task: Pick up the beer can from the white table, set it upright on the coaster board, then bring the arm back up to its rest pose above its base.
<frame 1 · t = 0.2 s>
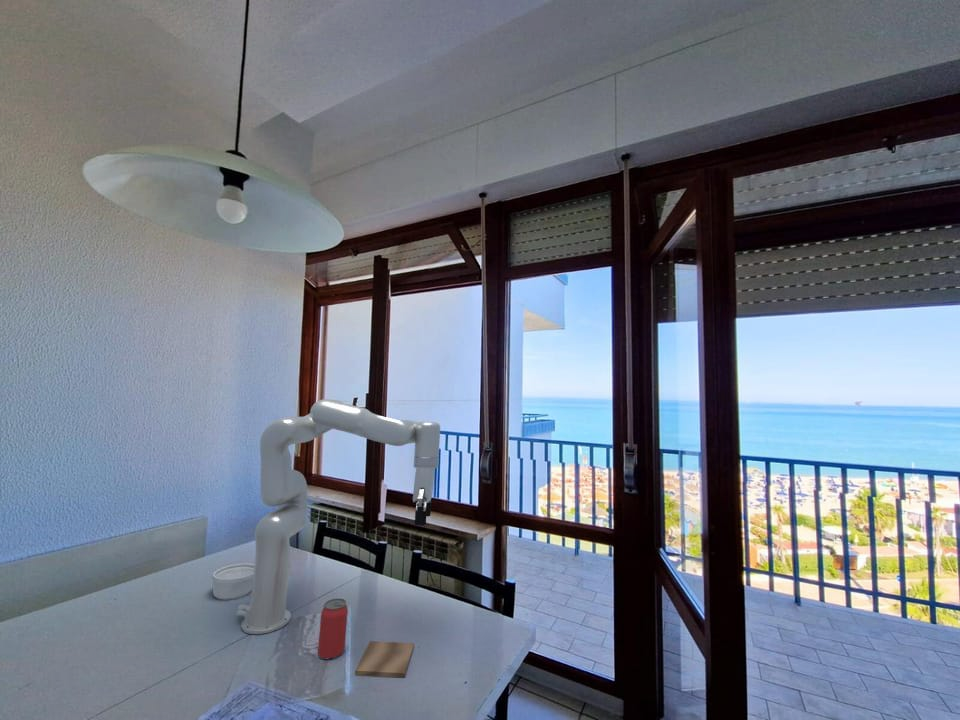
hand: (422, 520, 115), 31 cm above the table, tool pointing down, fingers open, 9 cm apart
ramekin: (233, 593, 129), on the table
beer can: (331, 653, 99), on the table
coaster board: (386, 660, 97), on the table
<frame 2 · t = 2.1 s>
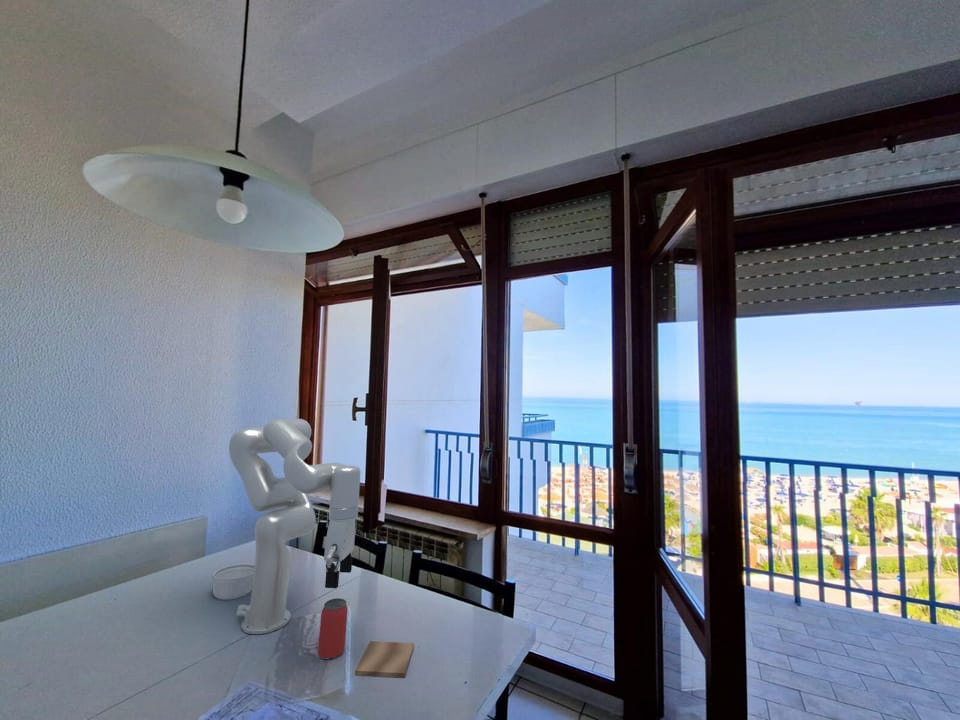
hand: (338, 579, 102), 18 cm above the table, tool pointing down, fingers open, 9 cm apart
nothing on the table moved.
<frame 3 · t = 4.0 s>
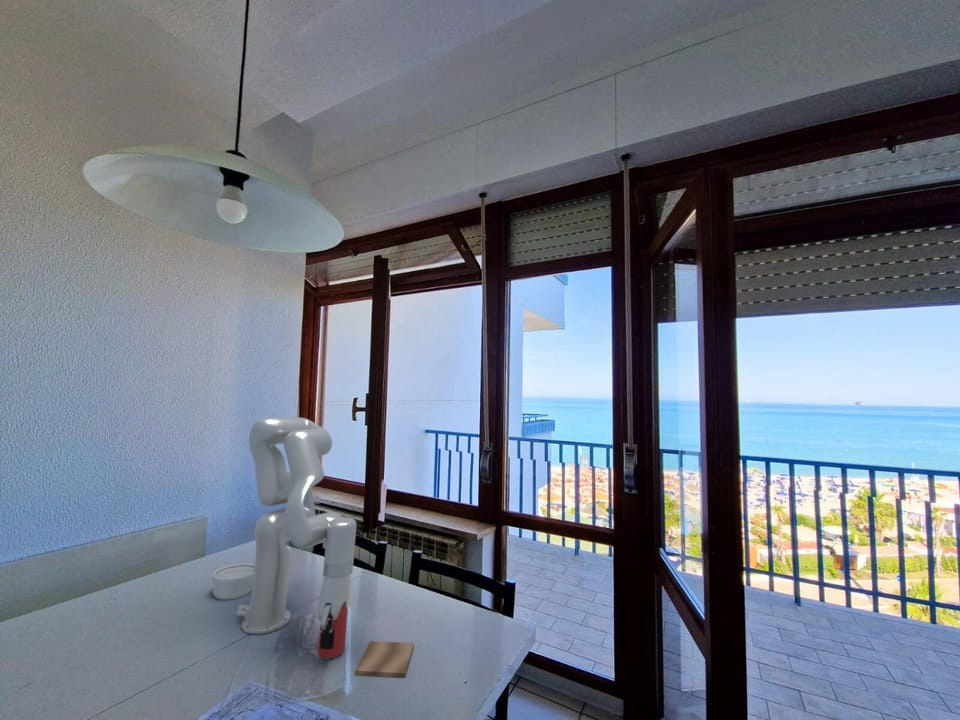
hand: (332, 639, 100), 3 cm above the table, tool pointing down, fingers closed on beer can, 6 cm apart
beer can: (330, 653, 99), on the table, touching gripper
everything else where it was.
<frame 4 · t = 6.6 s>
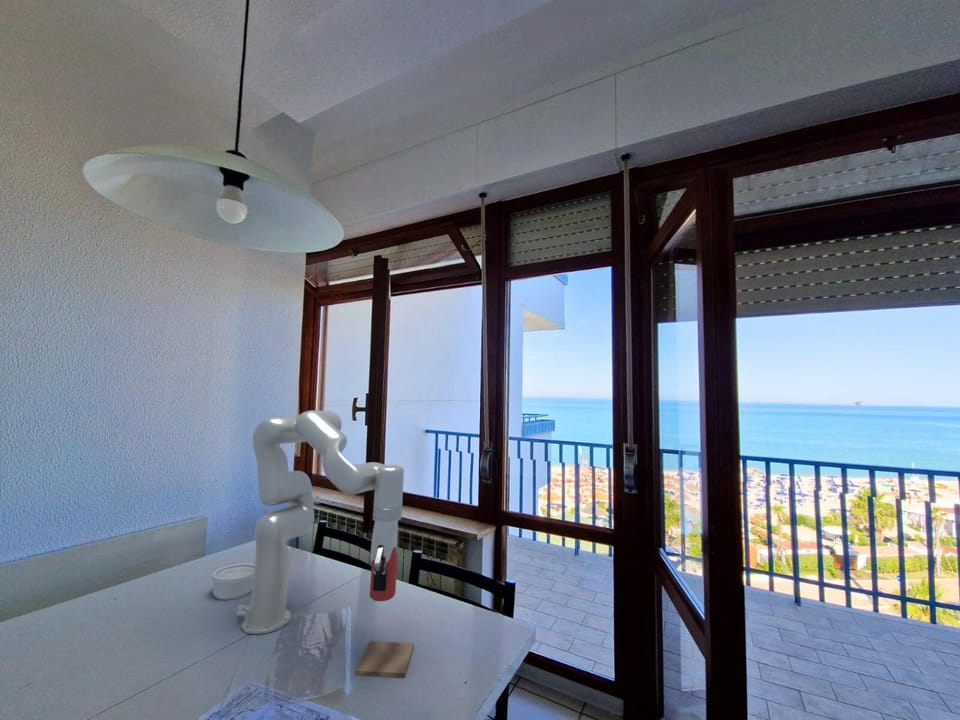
hand: (383, 583, 100), 18 cm above the table, tool pointing down, fingers closed on beer can, 6 cm apart
beer can: (382, 597, 99), point 15 cm above the table, touching gripper
everything else where it was.
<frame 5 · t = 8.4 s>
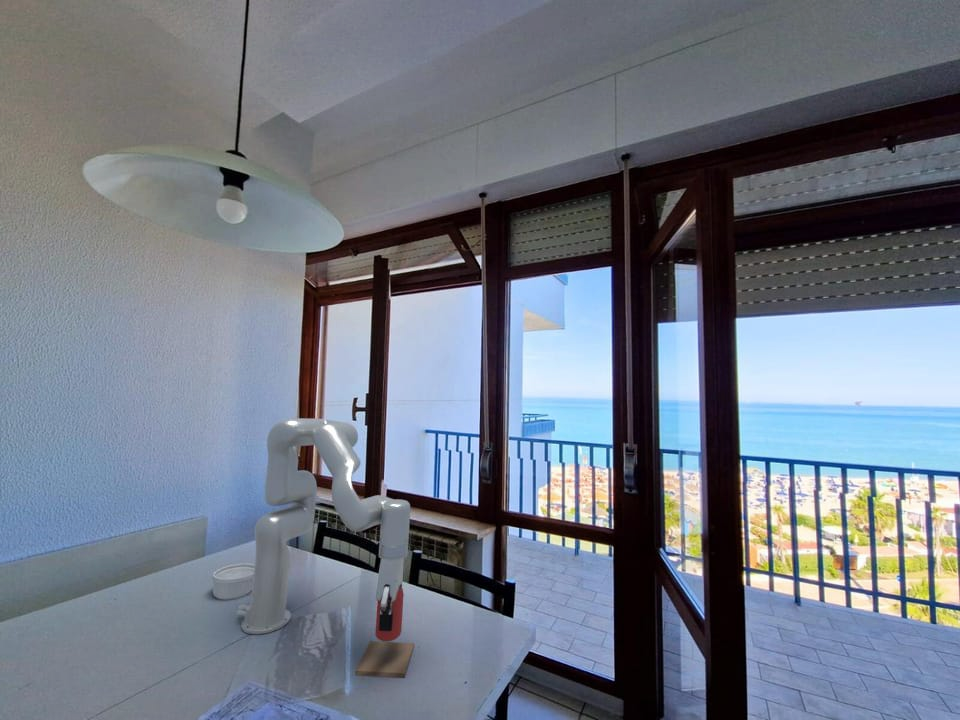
hand: (389, 621, 98), 9 cm above the table, tool pointing down, fingers closed on beer can, 6 cm apart
beer can: (388, 636, 98), point 6 cm above the table, touching gripper
everything else where it was.
when the fingers open (5 cm above the table, at t = 9.7 s): beer can stays where it is, resting on coaster board.
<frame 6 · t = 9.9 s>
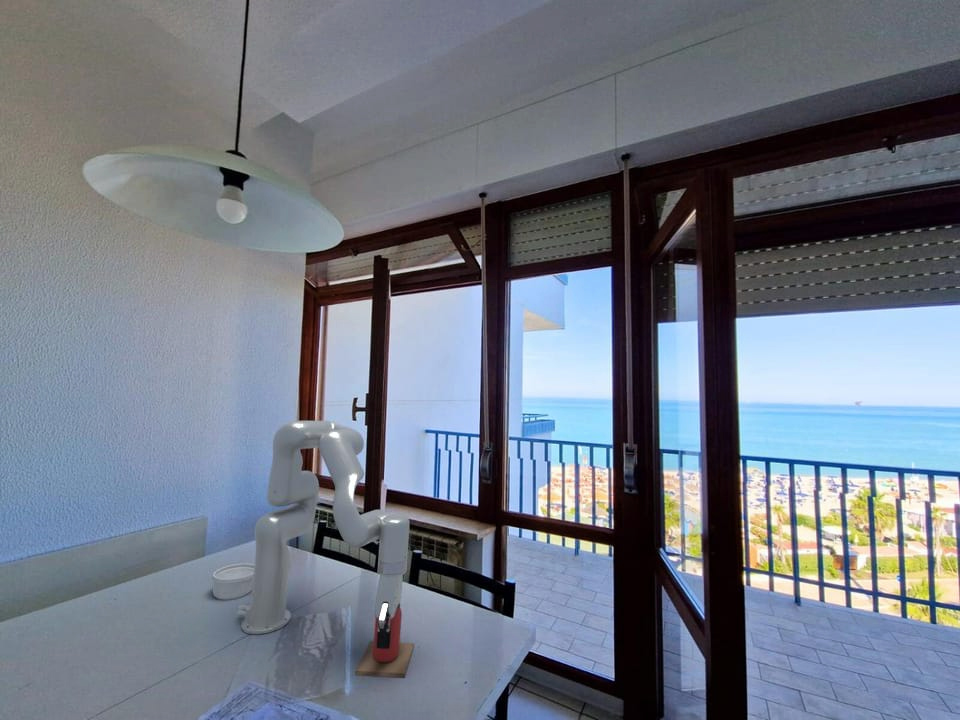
hand: (387, 637, 98), 5 cm above the table, tool pointing down, fingers open, 8 cm apart
beer can: (385, 656, 97), point 1 cm above the table, touching coaster board
everything else where it was.
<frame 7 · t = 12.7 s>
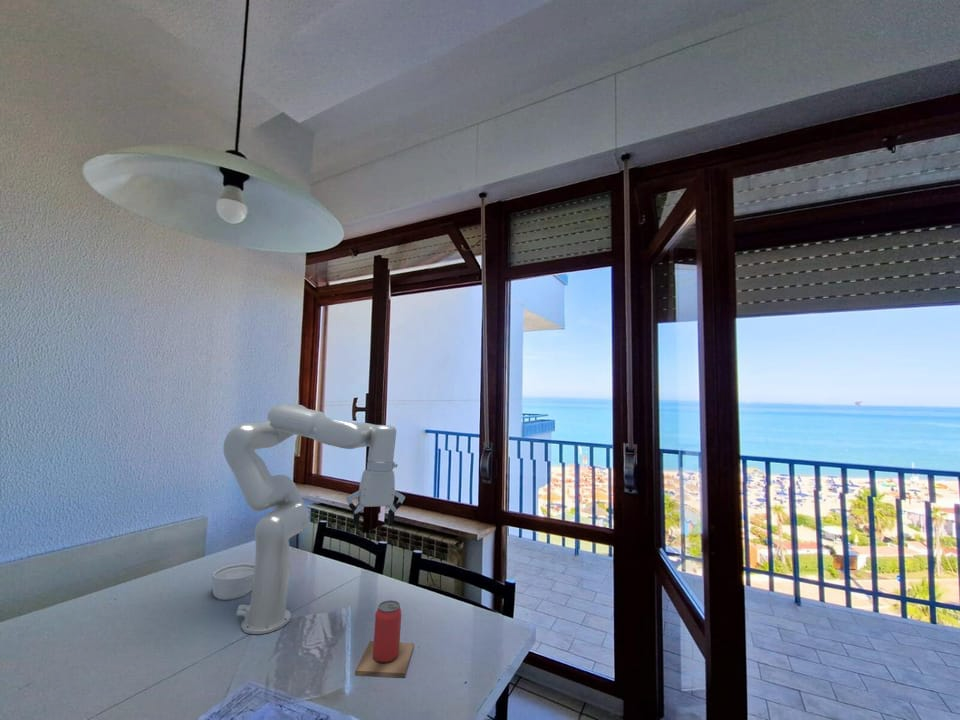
hand: (373, 525, 113), 29 cm above the table, tool pointing down, fingers open, 9 cm apart
nothing on the table moved.
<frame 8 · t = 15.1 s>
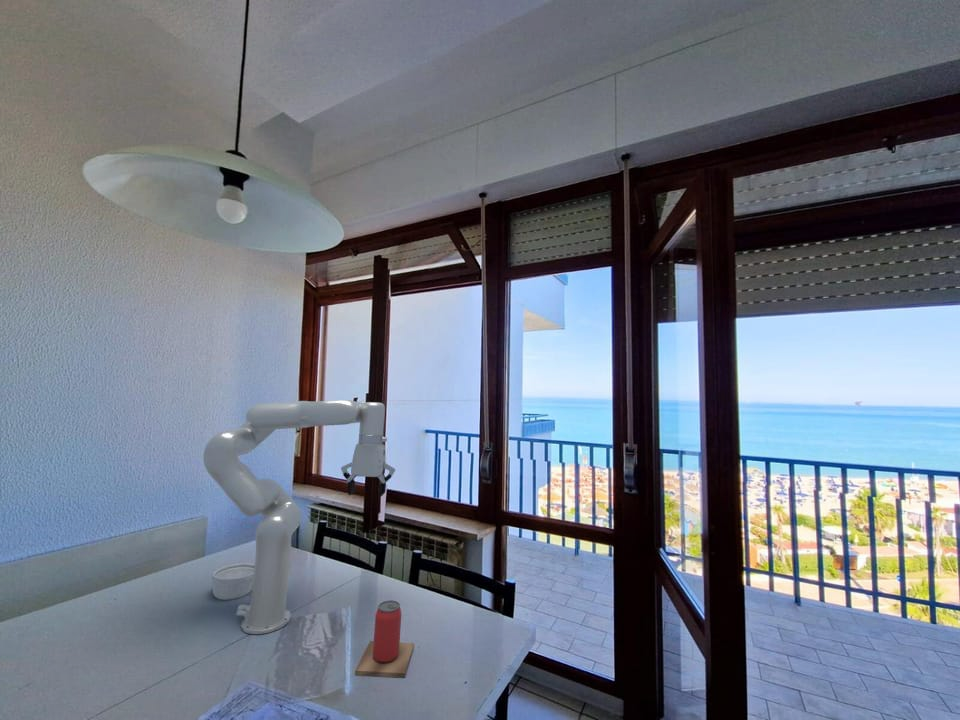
hand: (366, 494, 121), 36 cm above the table, tool pointing down, fingers open, 9 cm apart
nothing on the table moved.
at the end: beer can inside the target area on the coaster board (0.2 cm from its centre), point 0.8 cm above the coaster board's base; beer can tilted 0°; the gripper is holding nothing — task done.
